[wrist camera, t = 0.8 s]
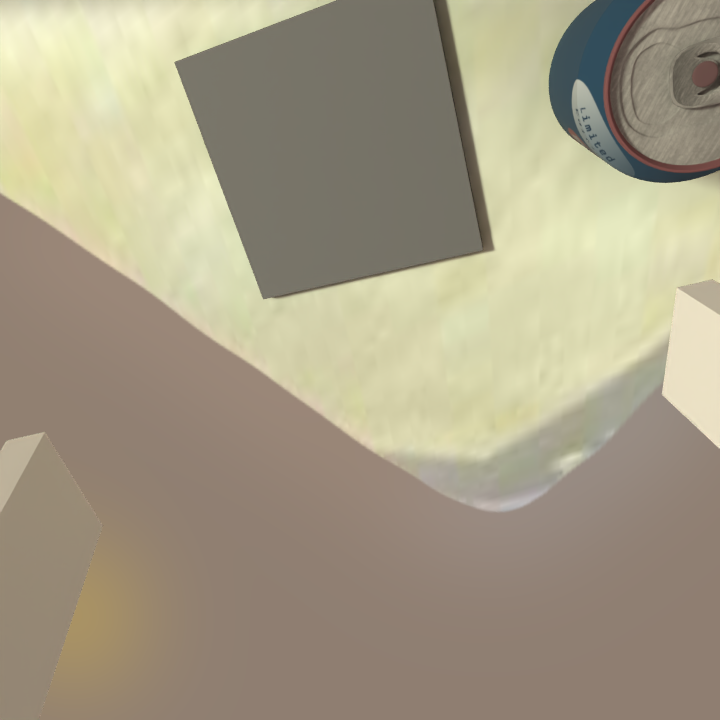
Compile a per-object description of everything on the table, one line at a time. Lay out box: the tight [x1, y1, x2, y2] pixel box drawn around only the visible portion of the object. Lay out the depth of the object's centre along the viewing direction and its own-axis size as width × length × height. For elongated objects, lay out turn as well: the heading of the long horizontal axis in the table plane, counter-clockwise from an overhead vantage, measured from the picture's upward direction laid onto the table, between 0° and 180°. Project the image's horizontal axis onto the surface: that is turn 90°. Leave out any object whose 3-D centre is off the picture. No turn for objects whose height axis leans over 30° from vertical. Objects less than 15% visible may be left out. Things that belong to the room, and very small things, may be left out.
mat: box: [175, 0, 483, 299], centre depth 31 cm, size 14×14×1 cm
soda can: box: [549, 0, 720, 183], centre depth 22 cm, size 7×7×12 cm
